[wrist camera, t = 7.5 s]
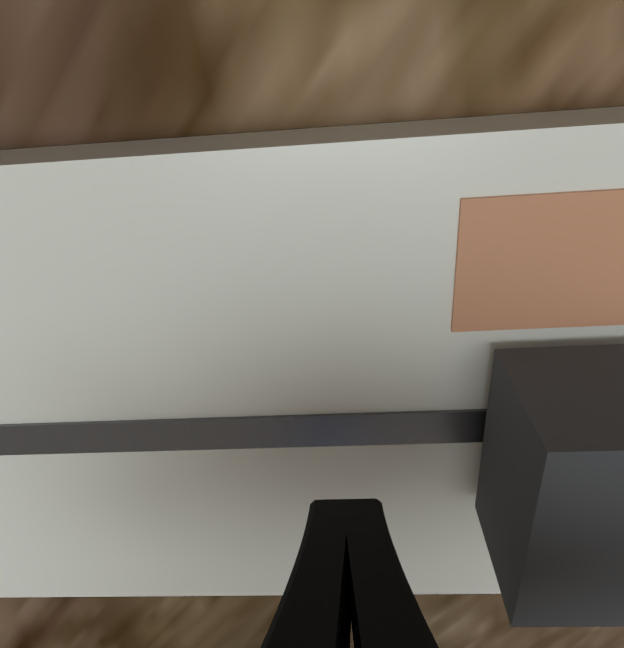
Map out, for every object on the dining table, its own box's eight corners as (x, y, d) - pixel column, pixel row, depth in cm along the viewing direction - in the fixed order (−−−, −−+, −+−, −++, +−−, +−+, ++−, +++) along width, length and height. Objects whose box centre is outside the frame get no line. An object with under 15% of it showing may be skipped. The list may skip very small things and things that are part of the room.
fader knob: (609, 503, 13) (682, 626, 11) (474, 506, 14) (511, 627, 11) (660, 342, 11) (771, 446, 8) (494, 349, 11) (547, 452, 8)
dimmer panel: (687, 536, 17) (729, 595, 16) (-34, 546, 19) (-73, 600, 17) (884, 87, 10) (1000, 98, 9) (-268, 168, 12) (-374, 191, 10)
